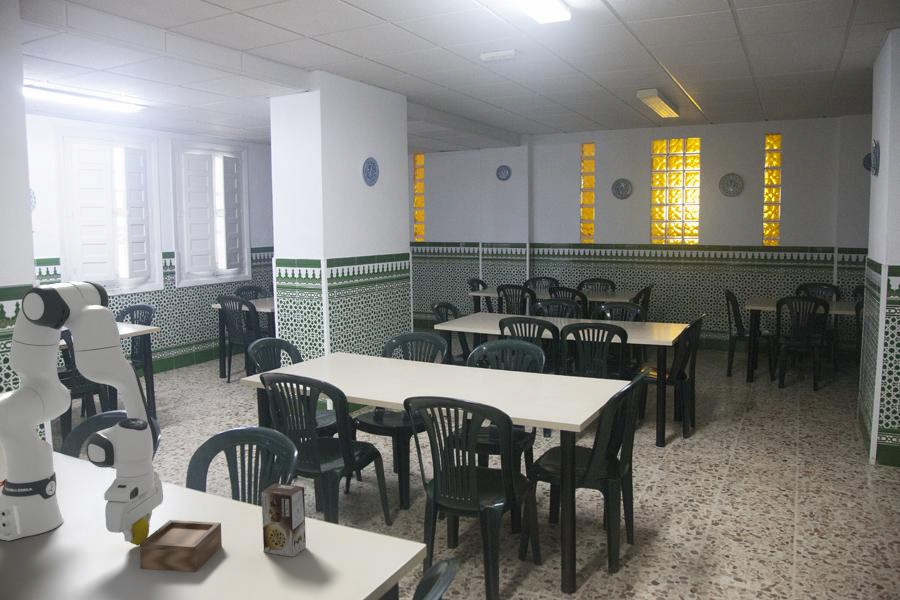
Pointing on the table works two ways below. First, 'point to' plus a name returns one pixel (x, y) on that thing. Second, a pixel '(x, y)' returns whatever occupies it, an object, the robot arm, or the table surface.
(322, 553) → the table surface
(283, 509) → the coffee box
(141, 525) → the lemon
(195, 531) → the walnut base
